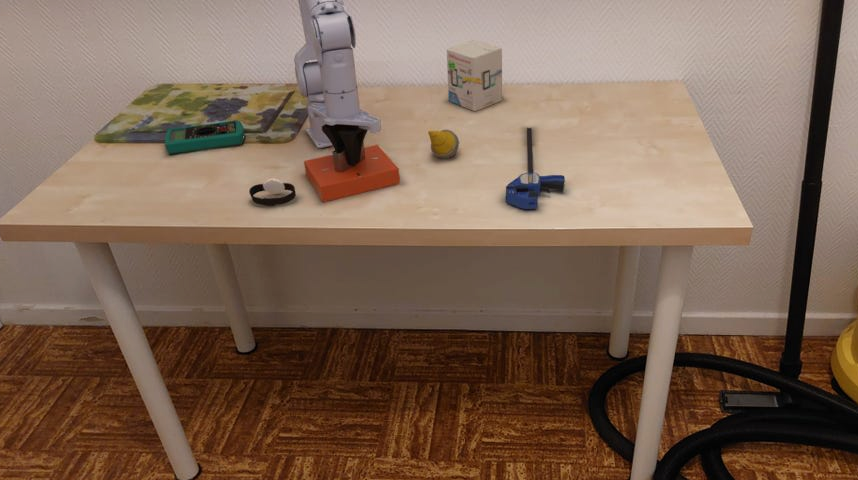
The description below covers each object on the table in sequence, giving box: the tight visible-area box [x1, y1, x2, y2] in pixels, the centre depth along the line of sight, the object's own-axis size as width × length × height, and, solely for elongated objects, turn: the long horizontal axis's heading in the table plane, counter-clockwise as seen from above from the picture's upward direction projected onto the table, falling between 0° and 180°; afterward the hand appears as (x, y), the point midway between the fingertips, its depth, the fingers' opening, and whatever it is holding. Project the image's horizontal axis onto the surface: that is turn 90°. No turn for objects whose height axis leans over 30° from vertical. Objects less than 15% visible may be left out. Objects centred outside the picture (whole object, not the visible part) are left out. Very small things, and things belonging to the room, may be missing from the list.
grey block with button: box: [331, 141, 365, 172], centre depth 129 cm, size 6×2×4 cm, turn 147°
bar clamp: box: [505, 127, 566, 210], centre depth 134 cm, size 32×2×10 cm
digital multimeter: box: [164, 119, 246, 155], centre depth 146 cm, size 7×15×3 cm, turn 105°
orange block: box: [303, 144, 401, 203], centre depth 131 cm, size 14×11×3 cm
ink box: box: [446, 39, 503, 112], centre depth 157 cm, size 9×8×12 cm
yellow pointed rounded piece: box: [427, 129, 460, 160], centre depth 136 cm, size 5×5×10 cm
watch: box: [248, 177, 297, 207], centre depth 126 cm, size 8×5×4 cm, turn 91°
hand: (350, 161), depth 130 cm, fingers closed on grey block with button, 2 cm apart
